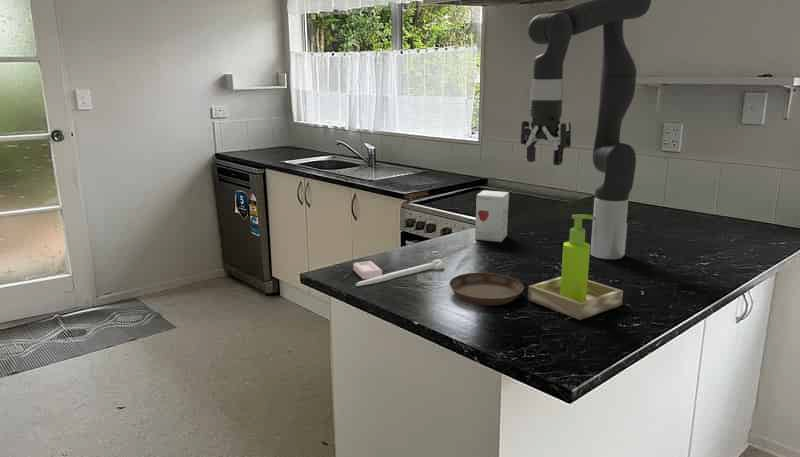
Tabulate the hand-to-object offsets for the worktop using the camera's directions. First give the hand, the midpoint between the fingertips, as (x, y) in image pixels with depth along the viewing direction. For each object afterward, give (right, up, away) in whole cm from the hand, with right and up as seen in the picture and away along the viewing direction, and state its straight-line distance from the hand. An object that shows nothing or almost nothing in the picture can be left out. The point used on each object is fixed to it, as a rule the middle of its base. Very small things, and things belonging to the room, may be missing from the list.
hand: (543, 163), depth 152 cm
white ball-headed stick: (-36, -30, +6) cm, 47 cm away
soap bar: (-45, -29, +9) cm, 55 cm away
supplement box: (-7, -20, +44) cm, 49 cm away
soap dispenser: (+4, -33, -13) cm, 36 cm away
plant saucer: (-16, -33, -8) cm, 38 cm away
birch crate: (+4, -34, -13) cm, 36 cm away
